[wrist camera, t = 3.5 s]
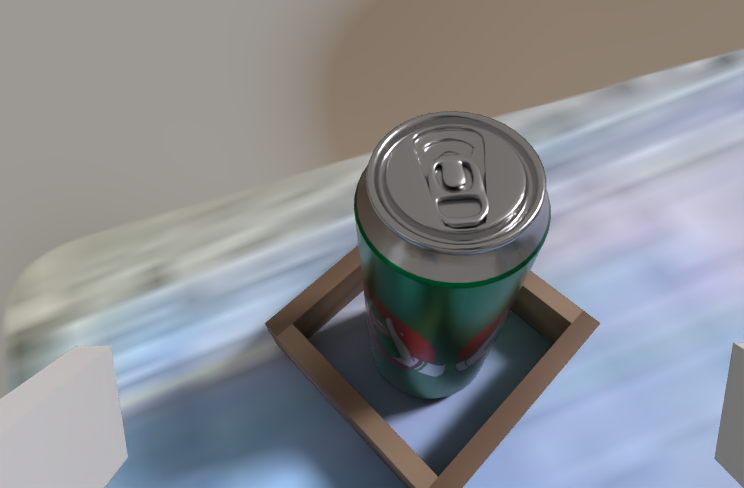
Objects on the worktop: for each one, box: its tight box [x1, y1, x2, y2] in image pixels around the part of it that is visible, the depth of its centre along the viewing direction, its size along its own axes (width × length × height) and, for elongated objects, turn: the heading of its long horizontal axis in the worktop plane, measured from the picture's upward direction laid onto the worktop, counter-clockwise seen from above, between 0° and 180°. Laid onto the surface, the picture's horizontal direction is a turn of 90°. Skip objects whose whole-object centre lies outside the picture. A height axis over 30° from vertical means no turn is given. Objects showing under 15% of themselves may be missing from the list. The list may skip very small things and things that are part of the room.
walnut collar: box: [265, 246, 600, 488], centre depth 21 cm, size 10×10×2 cm
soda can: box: [354, 111, 551, 398], centre depth 17 cm, size 5×5×12 cm
